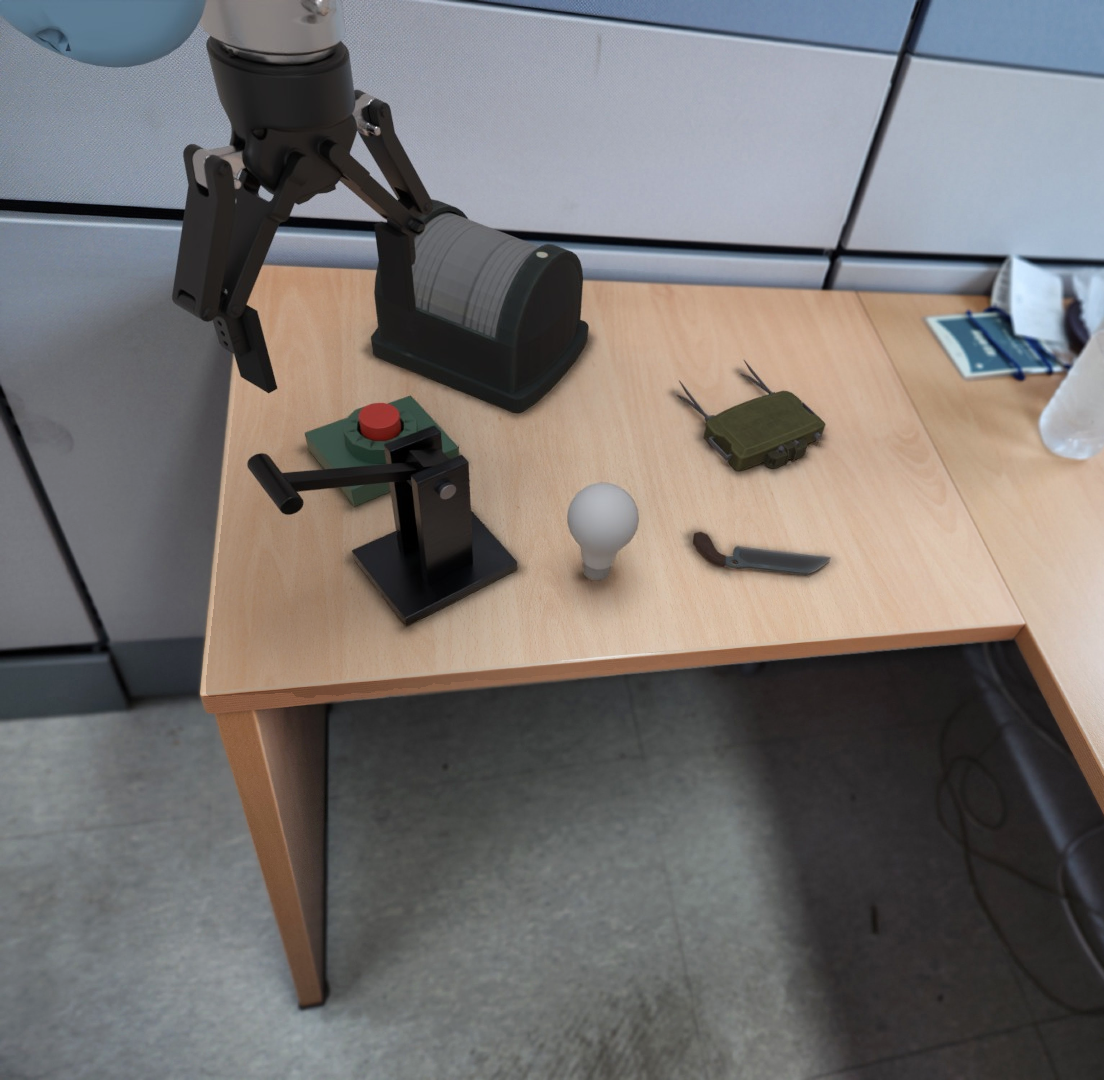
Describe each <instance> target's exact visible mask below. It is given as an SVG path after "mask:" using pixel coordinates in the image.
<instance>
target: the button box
mask: <svg viewBox="0 0 1104 1080" xmlns="http://www.w3.org/2000/svg"><path fill="white" fill-rule="evenodd" d="M386 404H390V405H392V406H394V407H395V408H396V409H397V410H398V411H399V414H400V422H401V431H400V433H399V435H398V436H397V437H395V438H393V439H390V440H388V441H372V440H370V439H367V438H366V437H364V436H363V434H362V433H361V429H360V423H359V412H360V411H361V409H362V408H364V407H365V406H366V405H365V406H362V407H359V408H356V409H354V410H353V411H352V412H351V413H350V414H349V415H348V416H347V417H345V418H342V419H339V420H337V421H334V422H331V423H327V424H325V425H322V426H319V427H317V428H314V429H311V430H308V431H305V432H304V438H305V441H306V446H307V450H308V451H309V452H310V453H311V455H312V456H313V457H314V459H315V460H316V461H317V462H318V463H319V465H320V466H321V467H322V468H323V469H333V468H345V467H357V466H369V465H381V464H386V457H385V450H384V444H386V443H389V442H391V441H394V440H396V439H399V438H402V437H404V436H407V435H410V434H412V433H415V432H418V431H420V430H423V429H425V428H428V427H431V426H433V425H435V426H436V427H437V428H438V429H439V430H440V431H441V437H442V451H443V452H444V454H445V455H446V456H447V457H448V458H449V459H452V458H455V457H457V456H460V448H459V446H458V445H457V443H455V441H454V440H453V439H452V438H451V437H450V436H449V434H447V432H445V431H444V429H442V428H441V426H440V425H439V424H438V423H437V422H436V420H434V419H433V418H432V417H431V416H430V414H429V413H428V412H427V411H426V410H425V409H424V408H423V407H422V406H421V404H420V403H418V402H417V400H416V399H415V398H414V397H413V396H412V395H408V396H407V395H406V396H404V397H403V398H402V397H401V398H399V399H396V400H393V401H390V402H388V403H386ZM339 489H340V491H341V492H342V494H344V496H345V497H346V498H347V499H348V501H349V502H350V503H351V504H352V506H353V507H357V506H359V505H362V504H364V503H367V502H368V501H372V500H374V499H376V498H379V497H381V496H383V495H385V494H388V493H391V492H390V485H389V482H388V483H378V484H368V485H358V486H349V487H339Z"/></svg>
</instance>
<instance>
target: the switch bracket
mask: <svg viewBox="0 0 1104 1080" xmlns="http://www.w3.org/2000/svg"><path fill="white" fill-rule="evenodd" d="M436 448H440V449H441V450H442V437H441V431H440V430H439V429H438V428H437V427H436V426H435V425H433V426H431V427H428V428H425V429H423V430H420V431H418V432H415V433H412V434H410V435H407V436H404V437H402V438H399V439H396V440H394V441H391V442H389V443H386V444H384V450H385V457H386V464H393V463H405V462H406V459H407V456H408V453H409V450H422V449H436ZM469 463H470V462H469V461H468V460H467V458H466V457H465V456H464V455H463V454H459V456H457V457H455V458H452V459H450V460H447V461H445V462H442V463H440V464H438V465H435V466H433V467H430V468H428V469H425V470H423V471H420V472H418V473H416V474H413V475H411V482H412V486H411V485H410V484H409V483H408V482H407V481H397V482H389V485H390V492H389V493H390V497H391V505H392V506H391V507H392V513H393V519H394V527H395V530H394V531H392V532H390V533H387V534H385V535H383V536H380V537H379V538H376V539H373V540H371V541H369V542H367V543H364V544H363V545H360V546H358V547H356V548H353V549H352V550H351V554H352V558H353V560H354V562H355V563H356V564H357V565H358V567H359V568H360V569H361V570H362V572H363V573H364V574H365V576H366V577H367V578H368V580H369V581H370V582H371V583H372V584H373V586H374V587H375V588H376V590H377V591H378V593H379V594H380V595H381V596H382V598H383V599H384V600H385V601H386V603H387V604H388V606H390V608H391V609H392V611H393V612H394V613H395V614H396V616H397V617H398V618H399V619H400V620H401V622H402V624H404V626H405V627H409V626H411V625H413V624H414V623H417V622H419V621H420V620H423V619H424V618H426V617H428V616H430V615H432V614H434V613H436V612H438V611H440V610H442V609H445V608H446V607H448V606H450V605H452V604H454V603H456V602H457V601H460V600H462V599H463V598H465V597H468V596H469V595H471V594H473V593H475V592H477V591H479V590H481V589H483V588H484V587H486V586H489V585H491V584H493V583H495V582H496V581H498V580H500V579H502V578H505V577H506V576H508V575H509V574H512V573H514V572H516V571H517V570H518V561H517V560H516V558H515V557H514V556H513V555H512V554H511V553H510V552H509V551H508V550H507V549H506V547H505V546H504V545H503V544H502V543H501V542H500V541H499V540H498V538H497V537H496V536H495V535H494V534H493V533H492V531H490V530H489V528H488V527H487V526H486V525H485V524H484V523H483V522H482V521H481V519H480V518H479V517H478V516H477V514H475V513H474V512H473V510H472V508H471V507H472V506H471V504H472V503H471V486H470V485H471V484H470V483H471V482H470V464H469Z"/></svg>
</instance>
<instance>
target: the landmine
mask: <svg viewBox="0 0 1104 1080" xmlns="http://www.w3.org/2000/svg"><path fill="white" fill-rule="evenodd" d="M743 362H744V364H745V365H746V367H747V369H748V371H749V372H750V373H751V375H752V376H753V377H752V376H750V375H747V374H744V373H740V374H741V375H742V376H743V377H744V378H746V379H747V380H749V381H750V382H752V383H753V384H754V385H756V386H757V387H759V388H760V389H761V390H763V391H764V392H766V393H767V394H764V395H761V396H758V397H755V398H753V399H750V400H747V401H743V402H741V403H739V404H736V405H733V406H732V407H730V408H727V409H724V410H723V411H721V412H719V413H717V414H715V415H714V414H712V415H708V413H706V412H705V411H704V409H703V408H702V407H701V406H700V404H699V403H698V402H697V400H696V399H695V398H694V396H692V394H691V393H690V391H689V390H688V389H687V387H686V386H685V385H684V383H683V382H681V380H678V382H679V384H680V385H681V387H682V389H683V391H684V393H685V394H686V395H687V397H688V398H689V399H688V398H687V397H685V396H683V395H680V394H677V396H678V397H679V398H680V399H681V400H682V401H684V402H685V403H687V405H689V406H690V407H692V408H693V409H694V410H695V411H697V412H698V413H699V414H700V415H701V416H703V417H704V421H705V422H706V425H705V427H704V432H703V437H704V439H705V440H706V441H707V442H708V444H709V445H710V446H711V447H712V448H713V449H714V450H715V451H716V452H717V453H718V454H719V455H720V456H721V457H722V458H723V459H724V460H725V461H728V463H729V464H730V465H731V467H733V469H734V470H735V471H738V472H739V471H744V470H747V469H749V468H752V467H755V466H757V465H760V464H762V463H763V465H765V466H766V467H767V468H770V469H776V468H779V467H782V466H783V465H785V466H786V465H787V464H788V462H789V460H791V462H795V460H798V459H800V458H802V457H804V456H805V454H806V451H807V448H808V444H810V443H813V442H814V441H819V440H820V439H821V438H822V435H823V433H824V430H825V427H826V422H825V421H824V420H822V418H821V417H820V416H819V415H818V414H817V413H816V412H815V411H814V410H812V409H811V408H810V407H809V405H807V404H806V403H805V402H804V401H803V400H802V399H800V398H799V397H798V396H797V395H796V394H794V393H793V392H792V391H789V390H780V391H776V392H775V391H772V390H771V389H770V388H769V387H768V386H767V385H766V384H765V382H764V381H763V380H762V378H760V376H759V375H758V374H757V373H756V372H755V371H754V369H753V368H752V367H751V365H749V363H748V362H747V361H746V360H745V359H743Z"/></svg>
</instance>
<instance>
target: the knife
mask: <svg viewBox="0 0 1104 1080" xmlns="http://www.w3.org/2000/svg"><path fill="white" fill-rule="evenodd" d="M692 543H693V545H694V546H695V548H696V549H697V550H698V551H699V553H700V554H701V555H702V556H703V557H704V559H706V560H707V561H709V562H710V563H711V564H713V565H715V566H718V567H721V568H722V567H723V568H725V567H726V568H729V569H734V570H743V569H745V570H746V569H747V570H748V569H749V570H760V571H767V572H775V573H785V574H793V575H802V576H807V575H810V574H812V573H815V572H817V571H818V570H820V569H821V568H822V567H824V566H825V565H827V564H828V563H829V562H830V560H832V559H831V558H832V557H831V556H825V555H823V556H822V555H816V554H815V555H814V554H806V553H798V552H791V551H782V550H774V549H765V548H756V547H750V546H749V547H747V546H740V545H736V546H734V548H733V551H732V555H725V554H722V553H721V552H719V551H718V549H716V547H715V545H714V543H713V541H712V539H711V538H710V536H709V534H708V533H705V532H702V531H698V532H694V533H693V535H692ZM734 563H736V564H734Z"/></svg>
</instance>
